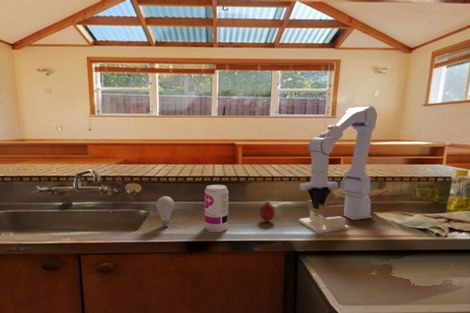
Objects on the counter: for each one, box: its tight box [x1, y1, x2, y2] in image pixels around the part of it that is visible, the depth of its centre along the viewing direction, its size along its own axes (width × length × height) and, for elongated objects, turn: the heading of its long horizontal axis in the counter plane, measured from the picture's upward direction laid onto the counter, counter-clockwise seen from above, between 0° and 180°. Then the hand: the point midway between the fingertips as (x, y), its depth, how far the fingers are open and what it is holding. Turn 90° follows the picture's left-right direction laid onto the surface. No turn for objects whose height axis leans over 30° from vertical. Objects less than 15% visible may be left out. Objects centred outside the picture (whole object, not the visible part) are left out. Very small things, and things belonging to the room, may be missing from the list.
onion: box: [258, 200, 276, 223], centre depth 97 cm, size 6×6×8 cm
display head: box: [298, 210, 350, 234], centre depth 94 cm, size 13×12×4 cm
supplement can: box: [204, 184, 229, 233], centre depth 90 cm, size 8×8×15 cm
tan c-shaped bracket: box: [307, 198, 345, 217], centre depth 94 cm, size 8×10×4 cm
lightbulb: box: [155, 195, 175, 227], centre depth 91 cm, size 6×6×11 cm
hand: (318, 207), depth 93 cm, fingers closed on tan c-shaped bracket, 2 cm apart
